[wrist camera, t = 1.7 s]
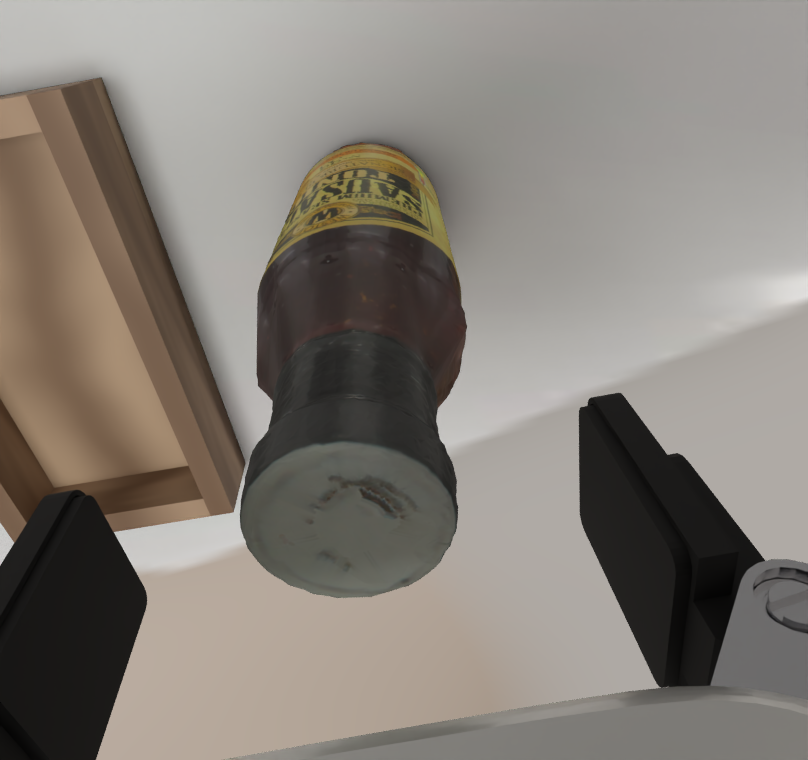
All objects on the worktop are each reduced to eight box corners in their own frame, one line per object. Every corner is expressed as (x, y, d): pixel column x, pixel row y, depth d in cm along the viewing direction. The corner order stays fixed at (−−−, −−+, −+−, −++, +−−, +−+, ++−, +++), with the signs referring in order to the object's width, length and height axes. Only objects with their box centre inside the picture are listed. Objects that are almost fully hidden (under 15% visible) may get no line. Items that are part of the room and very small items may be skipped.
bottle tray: (101, 77, 24) (60, 88, 21) (245, 462, 35) (233, 512, 32) (-175, 127, 25) (-260, 146, 21) (50, 495, 35) (17, 547, 32)
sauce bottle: (412, 115, 26) (516, 317, 9) (450, 250, 29) (580, 586, 12) (268, 165, 27) (115, 441, 10) (321, 292, 30) (275, 665, 13)
